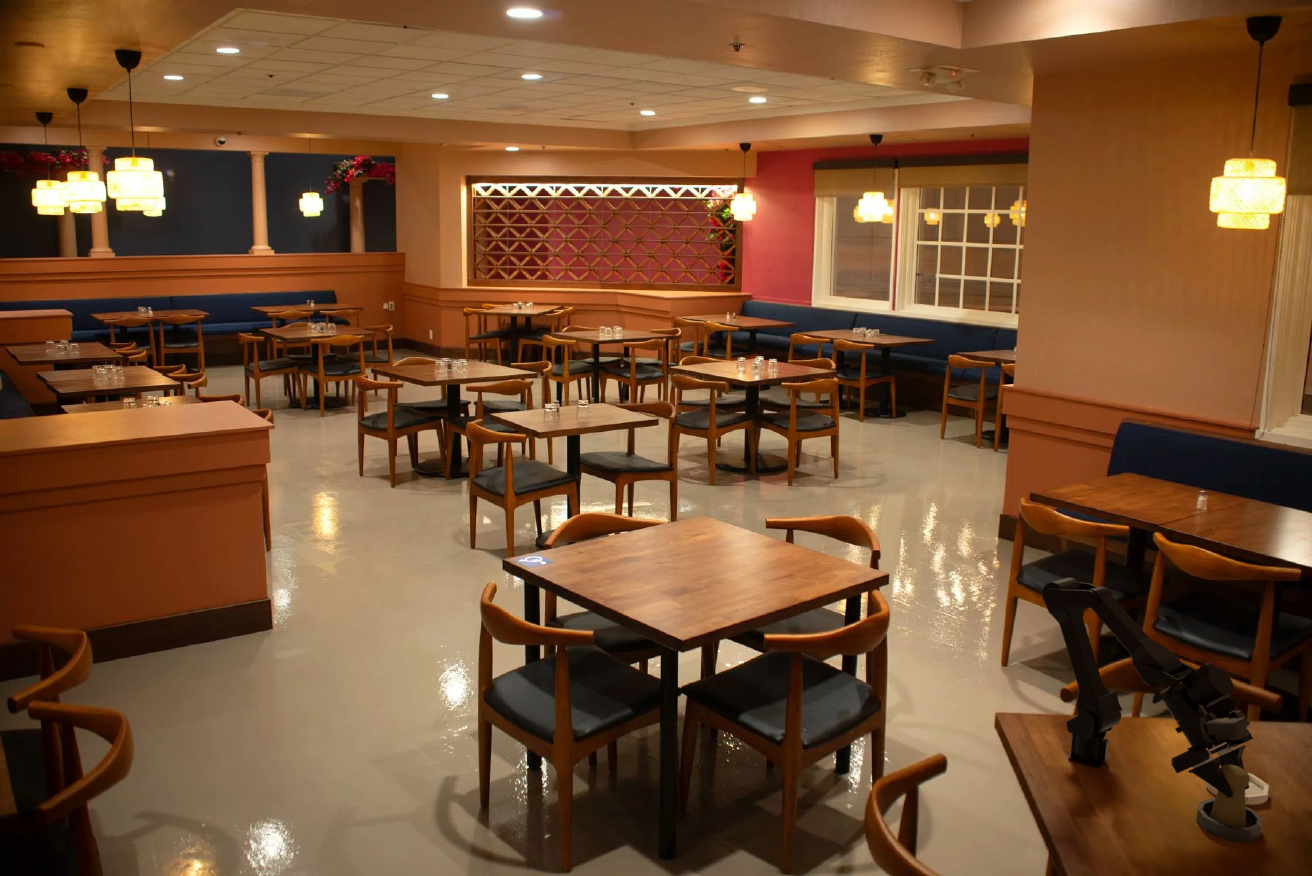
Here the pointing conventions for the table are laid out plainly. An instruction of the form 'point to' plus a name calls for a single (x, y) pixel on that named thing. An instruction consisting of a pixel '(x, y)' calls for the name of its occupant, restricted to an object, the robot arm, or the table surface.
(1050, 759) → the table surface
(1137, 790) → the table surface
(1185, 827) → the table surface
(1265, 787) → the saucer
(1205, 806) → the dark grey ring
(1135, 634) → the robot arm
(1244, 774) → the cork
